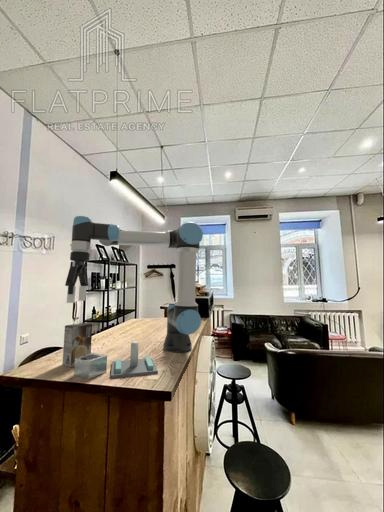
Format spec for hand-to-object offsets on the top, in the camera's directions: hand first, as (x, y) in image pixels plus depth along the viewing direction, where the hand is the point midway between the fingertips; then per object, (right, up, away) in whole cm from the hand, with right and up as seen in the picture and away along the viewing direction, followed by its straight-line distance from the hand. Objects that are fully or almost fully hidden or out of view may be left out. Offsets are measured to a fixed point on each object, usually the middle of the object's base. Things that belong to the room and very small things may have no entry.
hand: (76, 301), depth 98 cm
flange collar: (+10, -25, -10) cm, 29 cm away
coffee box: (0, -27, +1) cm, 27 cm away
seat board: (+25, -26, -5) cm, 37 cm away
